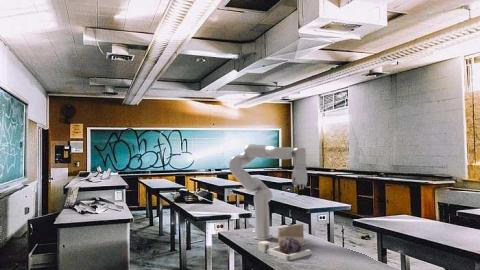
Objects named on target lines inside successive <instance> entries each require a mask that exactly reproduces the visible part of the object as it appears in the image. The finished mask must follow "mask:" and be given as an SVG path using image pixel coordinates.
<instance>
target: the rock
mask: <svg viewBox="0 0 480 270" xmlns="http://www.w3.org/2000/svg"><path fill="white" fill-rule="evenodd" d="M301 248H302V245H300V243H299V241H297V240H295V239H293V238H285V239H284V243H283V244H282V246H280V252H281V253H284V254H287V255H289V254H293V253H297V252H301Z"/></svg>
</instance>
